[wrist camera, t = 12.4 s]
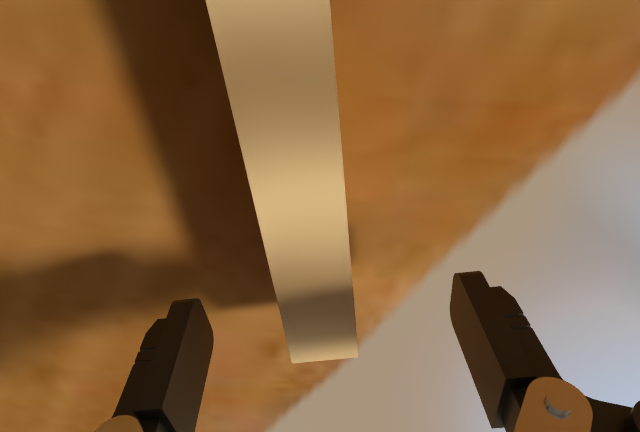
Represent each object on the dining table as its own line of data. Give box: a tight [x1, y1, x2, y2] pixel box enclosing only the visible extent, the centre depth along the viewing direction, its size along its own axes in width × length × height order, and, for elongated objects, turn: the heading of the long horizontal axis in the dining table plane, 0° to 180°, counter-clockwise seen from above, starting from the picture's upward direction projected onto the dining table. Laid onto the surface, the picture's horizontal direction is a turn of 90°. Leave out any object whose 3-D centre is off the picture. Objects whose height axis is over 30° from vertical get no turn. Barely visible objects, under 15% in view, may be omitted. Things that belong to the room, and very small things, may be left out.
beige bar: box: [206, 0, 358, 363], centre depth 10 cm, size 21×7×4 cm, turn 6°
